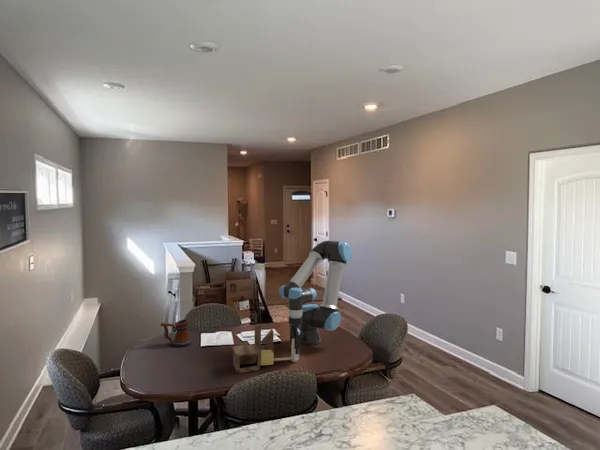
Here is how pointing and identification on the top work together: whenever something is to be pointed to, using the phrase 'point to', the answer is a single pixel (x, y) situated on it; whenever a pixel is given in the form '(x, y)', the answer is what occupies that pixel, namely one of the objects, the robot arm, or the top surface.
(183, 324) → the mug
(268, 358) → the block
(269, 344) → the wooden block
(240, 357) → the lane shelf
